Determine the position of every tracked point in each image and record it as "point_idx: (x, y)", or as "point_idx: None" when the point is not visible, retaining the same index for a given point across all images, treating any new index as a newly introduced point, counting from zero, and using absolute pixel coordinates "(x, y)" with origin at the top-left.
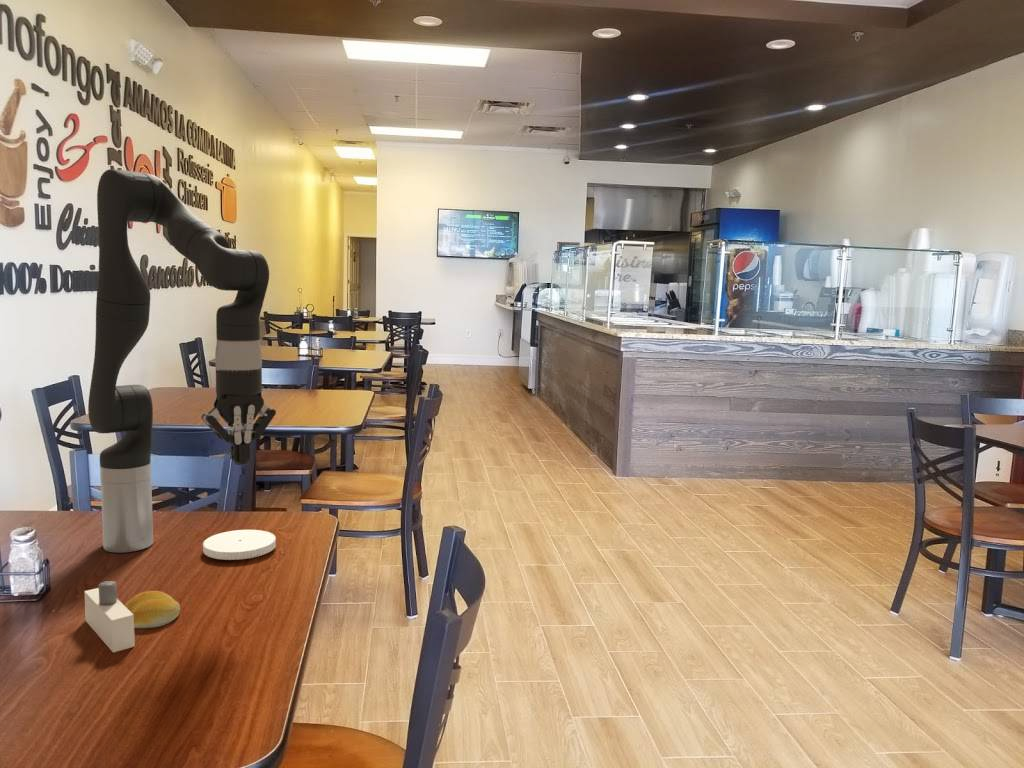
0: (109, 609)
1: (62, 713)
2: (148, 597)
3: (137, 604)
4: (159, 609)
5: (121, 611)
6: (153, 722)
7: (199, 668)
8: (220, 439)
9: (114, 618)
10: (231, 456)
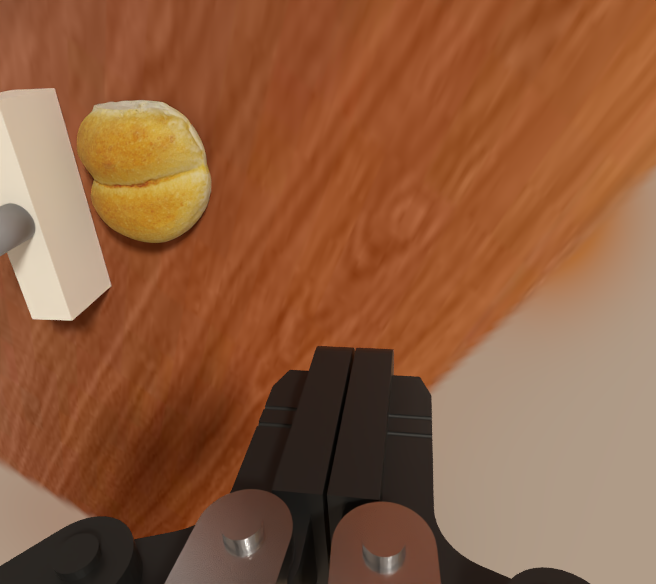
0: (23, 263)
1: (20, 406)
2: (121, 179)
3: (100, 181)
4: (146, 238)
5: (48, 290)
6: (124, 486)
7: (199, 417)
8: (74, 530)
9: (36, 314)
10: (270, 408)
